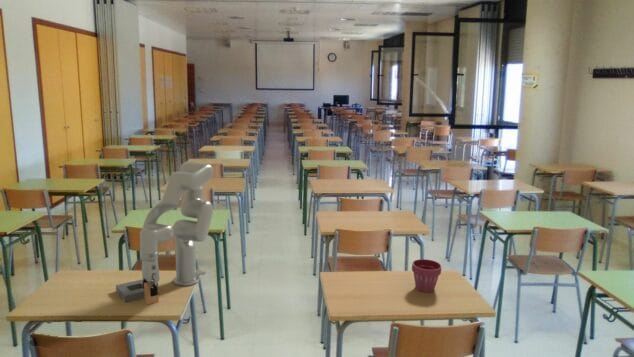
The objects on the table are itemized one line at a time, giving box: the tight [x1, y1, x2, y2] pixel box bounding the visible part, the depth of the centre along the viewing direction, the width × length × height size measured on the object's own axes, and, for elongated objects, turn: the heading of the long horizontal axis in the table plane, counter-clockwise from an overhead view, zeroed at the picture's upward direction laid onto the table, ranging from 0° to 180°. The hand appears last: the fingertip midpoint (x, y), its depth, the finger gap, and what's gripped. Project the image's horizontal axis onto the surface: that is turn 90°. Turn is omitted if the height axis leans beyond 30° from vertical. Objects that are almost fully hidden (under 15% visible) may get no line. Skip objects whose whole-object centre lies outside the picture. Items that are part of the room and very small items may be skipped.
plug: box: [144, 282, 160, 305], centre depth 231 cm, size 5×4×9 cm
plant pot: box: [411, 258, 442, 293], centre depth 253 cm, size 14×14×13 cm
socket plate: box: [115, 278, 145, 303], centre depth 240 cm, size 14×14×3 cm
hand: (150, 291), depth 231 cm, fingers open, 9 cm apart
